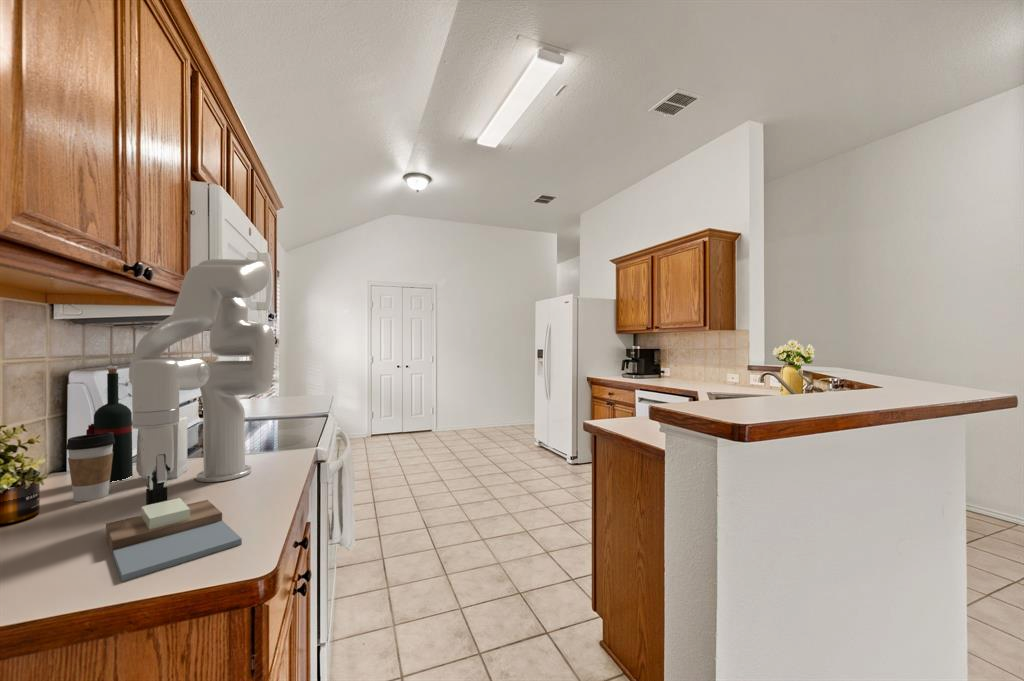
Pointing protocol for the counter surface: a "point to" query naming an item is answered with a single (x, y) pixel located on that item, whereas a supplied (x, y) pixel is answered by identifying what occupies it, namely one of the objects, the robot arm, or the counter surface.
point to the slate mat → (173, 549)
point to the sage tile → (165, 513)
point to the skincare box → (179, 448)
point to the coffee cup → (90, 465)
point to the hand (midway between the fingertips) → (156, 506)
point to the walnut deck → (138, 531)
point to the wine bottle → (115, 429)
